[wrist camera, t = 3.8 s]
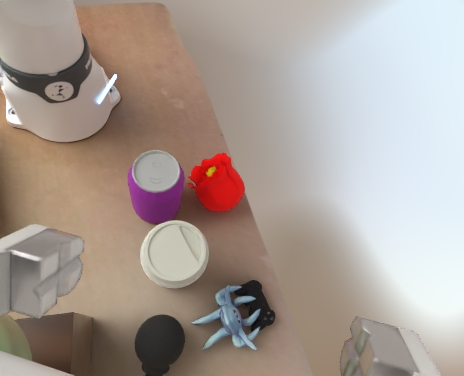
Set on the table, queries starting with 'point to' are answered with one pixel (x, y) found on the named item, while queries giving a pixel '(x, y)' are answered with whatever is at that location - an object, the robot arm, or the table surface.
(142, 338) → the light bulb
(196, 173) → the flower
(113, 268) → the table surface
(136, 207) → the beverage can
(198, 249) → the coffee cup
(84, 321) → the lamp
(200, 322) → the figurine
